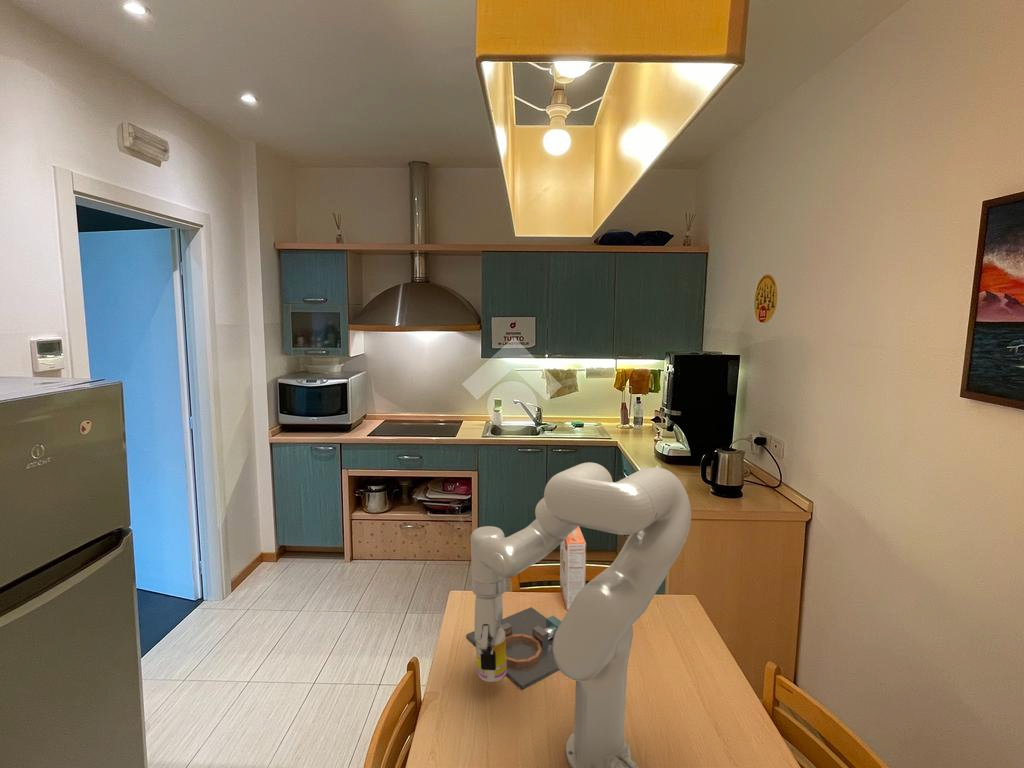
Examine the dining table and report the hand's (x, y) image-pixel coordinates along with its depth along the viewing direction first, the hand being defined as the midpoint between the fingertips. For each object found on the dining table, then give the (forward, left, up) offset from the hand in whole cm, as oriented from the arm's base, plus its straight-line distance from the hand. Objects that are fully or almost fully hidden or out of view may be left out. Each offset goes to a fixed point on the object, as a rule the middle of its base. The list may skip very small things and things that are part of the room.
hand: (491, 657), depth 119 cm
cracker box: (+18, -42, -8) cm, 46 cm away
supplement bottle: (0, 0, -4) cm, 4 cm away
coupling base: (+8, -17, -8) cm, 20 cm away
